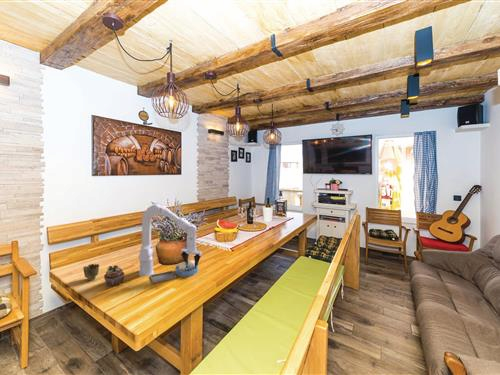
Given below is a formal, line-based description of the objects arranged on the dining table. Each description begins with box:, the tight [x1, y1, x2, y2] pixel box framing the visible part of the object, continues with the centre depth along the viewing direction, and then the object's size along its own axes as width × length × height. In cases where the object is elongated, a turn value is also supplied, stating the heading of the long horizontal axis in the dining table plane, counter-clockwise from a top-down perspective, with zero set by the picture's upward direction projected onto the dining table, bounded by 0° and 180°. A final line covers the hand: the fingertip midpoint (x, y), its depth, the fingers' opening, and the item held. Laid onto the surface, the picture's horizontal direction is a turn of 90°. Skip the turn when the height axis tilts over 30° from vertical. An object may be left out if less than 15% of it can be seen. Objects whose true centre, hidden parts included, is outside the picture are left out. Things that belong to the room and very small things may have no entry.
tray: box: [149, 270, 178, 285], centre depth 131 cm, size 10×13×1 cm
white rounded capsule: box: [178, 261, 186, 271], centre depth 138 cm, size 4×4×6 cm
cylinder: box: [188, 259, 195, 271], centre depth 141 cm, size 4×4×6 cm
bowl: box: [174, 263, 199, 278], centre depth 140 cm, size 14×14×4 cm
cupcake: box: [103, 265, 125, 288], centre depth 124 cm, size 10×10×10 cm
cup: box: [82, 263, 100, 281], centre depth 127 cm, size 8×7×8 cm
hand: (191, 264), depth 141 cm, fingers open, 7 cm apart
